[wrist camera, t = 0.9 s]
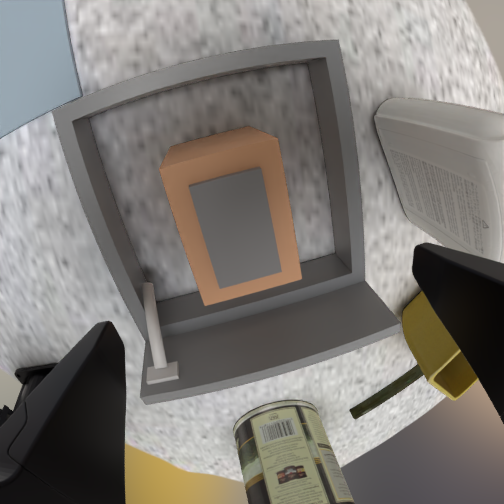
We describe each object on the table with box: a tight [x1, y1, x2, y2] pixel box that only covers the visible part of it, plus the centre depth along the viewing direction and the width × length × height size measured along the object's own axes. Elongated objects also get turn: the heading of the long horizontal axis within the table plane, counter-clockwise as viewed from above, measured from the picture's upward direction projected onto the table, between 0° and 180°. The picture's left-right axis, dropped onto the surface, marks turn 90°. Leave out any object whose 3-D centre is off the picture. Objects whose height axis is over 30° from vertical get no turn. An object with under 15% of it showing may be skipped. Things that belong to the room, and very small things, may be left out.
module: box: [159, 126, 302, 306], centre depth 17 cm, size 5×7×7 cm
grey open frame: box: [52, 40, 401, 405], centre depth 17 cm, size 16×17×8 cm
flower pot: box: [402, 291, 478, 401], centre depth 25 cm, size 9×9×9 cm
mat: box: [0, 0, 83, 138], centre depth 13 cm, size 10×11×1 cm
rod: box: [350, 365, 424, 419], centre depth 32 cm, size 31×1×2 cm, turn 124°
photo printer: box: [374, 98, 504, 263], centre depth 16 cm, size 10×4×12 cm, turn 30°
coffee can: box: [233, 400, 355, 504], centre depth 27 cm, size 10×10×14 cm
